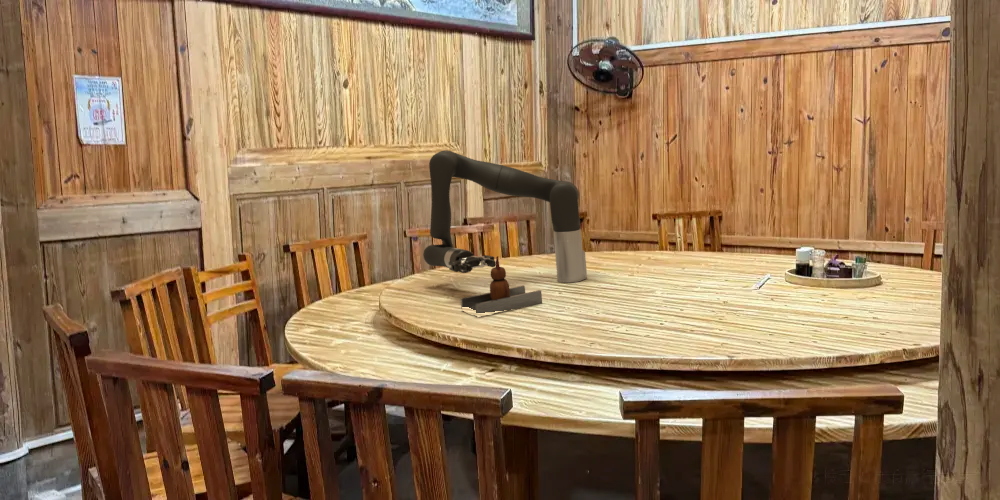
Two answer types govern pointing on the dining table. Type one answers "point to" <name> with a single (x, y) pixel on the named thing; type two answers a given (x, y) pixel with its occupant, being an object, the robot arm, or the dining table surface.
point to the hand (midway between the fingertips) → (482, 266)
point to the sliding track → (503, 301)
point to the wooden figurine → (499, 282)
